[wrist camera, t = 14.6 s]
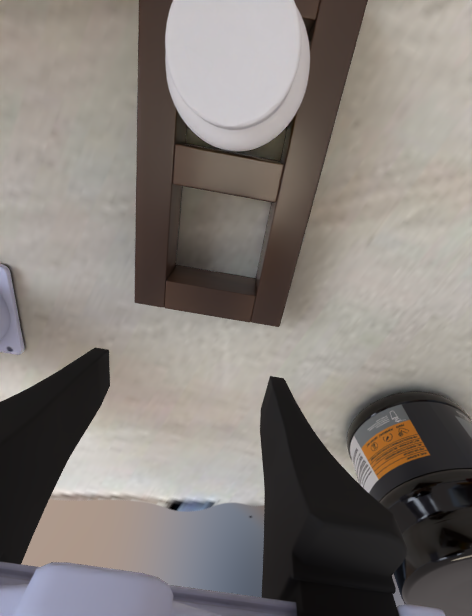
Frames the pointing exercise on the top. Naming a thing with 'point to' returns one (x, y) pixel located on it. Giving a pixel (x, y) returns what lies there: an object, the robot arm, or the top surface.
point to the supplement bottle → (236, 68)
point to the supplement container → (422, 491)
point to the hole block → (233, 172)
